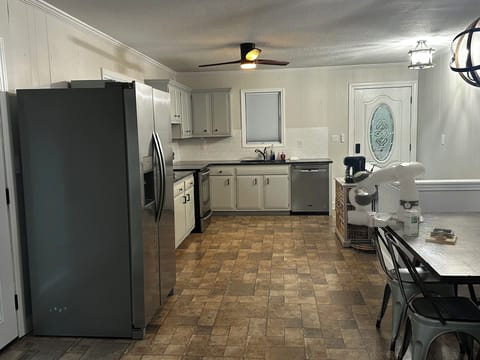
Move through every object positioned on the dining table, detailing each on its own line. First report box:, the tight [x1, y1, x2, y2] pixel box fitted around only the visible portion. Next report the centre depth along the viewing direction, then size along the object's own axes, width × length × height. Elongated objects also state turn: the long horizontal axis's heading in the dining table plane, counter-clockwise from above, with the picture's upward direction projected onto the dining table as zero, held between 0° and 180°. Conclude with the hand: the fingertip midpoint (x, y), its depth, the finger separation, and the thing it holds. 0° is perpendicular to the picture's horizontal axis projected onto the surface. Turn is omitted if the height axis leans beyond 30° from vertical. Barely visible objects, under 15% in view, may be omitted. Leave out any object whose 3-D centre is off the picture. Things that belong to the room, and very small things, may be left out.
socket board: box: [425, 227, 458, 245], centre depth 233 cm, size 18×14×6 cm
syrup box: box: [403, 210, 420, 237], centre depth 242 cm, size 6×6×14 cm
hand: (397, 221), depth 245 cm, fingers open, 8 cm apart
